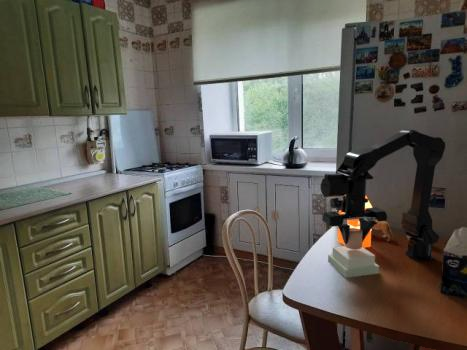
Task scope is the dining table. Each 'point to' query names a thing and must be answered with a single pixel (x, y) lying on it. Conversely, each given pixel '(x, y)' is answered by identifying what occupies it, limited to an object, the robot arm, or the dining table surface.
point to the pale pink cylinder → (354, 239)
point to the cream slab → (353, 257)
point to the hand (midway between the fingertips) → (353, 242)
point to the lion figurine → (384, 229)
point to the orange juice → (356, 224)
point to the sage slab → (353, 271)
